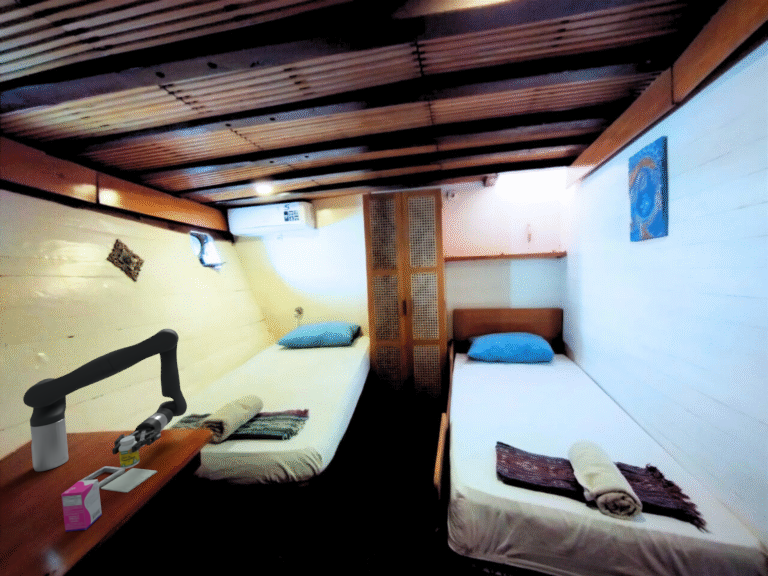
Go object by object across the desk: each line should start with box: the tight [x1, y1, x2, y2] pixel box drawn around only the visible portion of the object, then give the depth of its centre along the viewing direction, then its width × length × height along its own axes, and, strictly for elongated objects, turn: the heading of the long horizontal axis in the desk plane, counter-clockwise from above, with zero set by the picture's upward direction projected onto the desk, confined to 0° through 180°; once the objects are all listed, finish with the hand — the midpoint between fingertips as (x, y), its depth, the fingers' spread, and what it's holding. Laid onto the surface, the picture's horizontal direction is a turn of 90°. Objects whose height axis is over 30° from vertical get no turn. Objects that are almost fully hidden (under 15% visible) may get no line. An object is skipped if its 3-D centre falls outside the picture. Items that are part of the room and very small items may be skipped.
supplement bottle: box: [118, 435, 141, 470], centre depth 111 cm, size 5×5×10 cm
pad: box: [100, 467, 158, 494], centre depth 112 cm, size 11×11×1 cm
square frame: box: [79, 465, 126, 489], centre depth 113 cm, size 9×9×2 cm
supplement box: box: [60, 478, 103, 533], centre depth 92 cm, size 6×6×12 cm
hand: (123, 450), depth 109 cm, fingers closed on supplement bottle, 5 cm apart
